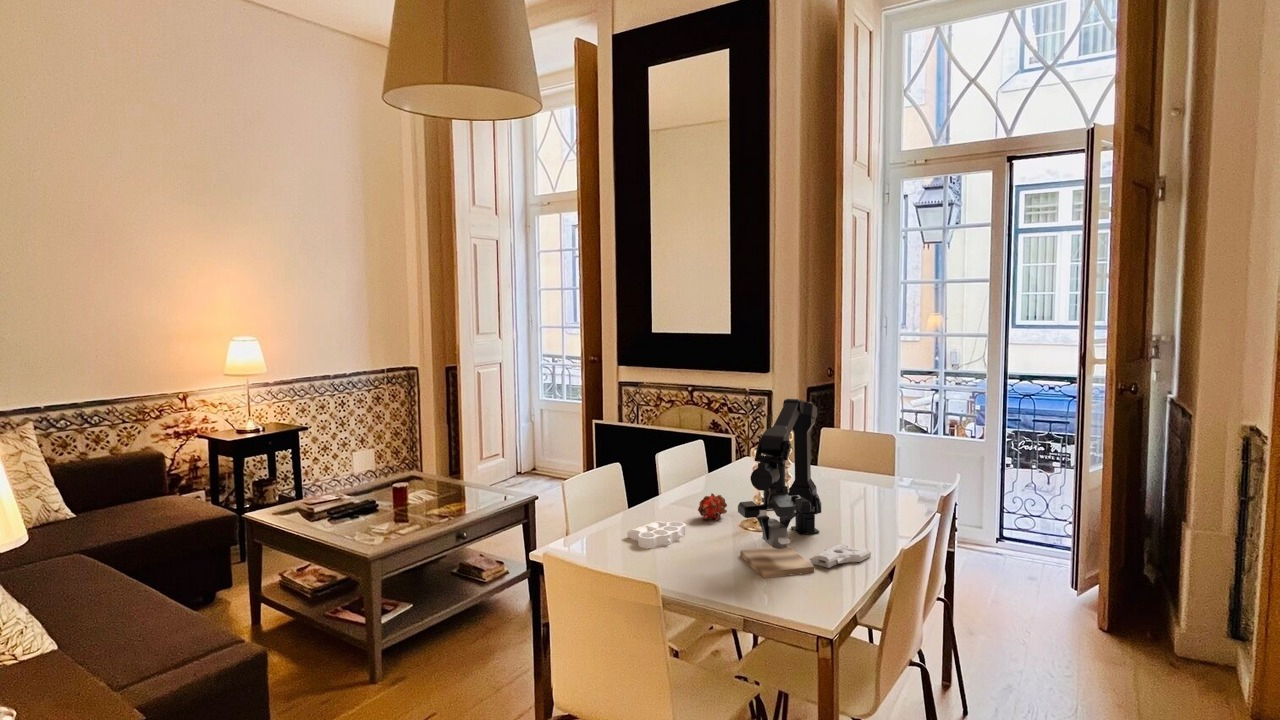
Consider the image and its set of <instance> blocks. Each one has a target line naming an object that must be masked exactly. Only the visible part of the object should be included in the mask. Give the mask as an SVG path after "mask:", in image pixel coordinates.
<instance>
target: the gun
mask: <svg viewBox="0 0 1280 720" xmlns="http://www.w3.org/2000/svg"><path fill="white" fill-rule="evenodd" d="M871 555H872V553H871V551H870V550H869V549H867V548H865V547H863V548H861V549H857V548H852V547H849V546H848V545H846V544H837V545H835V546H832V547H830V548H828V549H824V551H823V552H821V553H818V554H817V555H815V556H813V557H810V558H809V560H810V563H811V564H812V565H816V566H820V567H824V568H827V569H830V568H832V567H834V566H836V565H839V564H848V563H855V562H859V563H860V562H862V561H864V560H867V559H868V558H870V557H872V556H871Z"/></svg>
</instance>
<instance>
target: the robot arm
mask: <svg viewBox="0 0 1280 720" xmlns="http://www.w3.org/2000/svg"><path fill="white" fill-rule="evenodd" d="M817 417H818V407H817V405H815V404H814V403H813V402H811V401H804V400H803V399H802V400H801V399H800V398H787V399H784V400H783V403H782V408H781V410H780V412H779V414H778V416H777V417H776V420H775V422H774V424H773V426H772V427H770V428H767V429H765V430H764V432H763V433H762V434H761V436H760V438H758V443H757V447H756V452H755V455H754V462H758V463H757V468H755V469H754V470H752V472H751V475H750V483H751V484H752V486H753V487H754V488H755V489H757V490H758V491H762V492H763V497H761V502H762V504H757V503H755V502H754V501H752V500H748V501H739V503H738V505H737V513H738V514H740V515H741V516H742V517H743V518H745V519H751V518H755V519H757V522H758V524H759V526H760V528H761V531H762V535H763V534H764V536H765V538H766V540H768V538H769V530H768V520H769V518H770V517H769V516H768V514H767V513H768V512H774V513H775V516H776V517H779V522H780V523H782V524H783V525H784V526H786V527H787V529H788V527H789V525H790V523H791V521H792V520H793V519H794V518H795V525H794V526H790V529H792V531H794V532H795V533H797V534H798V535H812V534H819V533H820V530H819V529H817V528H816V523H815V522H816V520H815V519H816V515H818V514H821V513H822V502H821V499H820V496H819V494H818V490H817V489H818V488H817V485H816V484H815V482H814V481H813V480H812V477H811V476H812V471H811V469H812V467H811V466H812V465H811V430H812V428H813V426H814V425H815V424H816V421H817V420H816V419H817ZM792 432H793V442H794V443H793V445H794V446H793V447H794V448H793V452H794V458H793V459H794V481H793V482H792V483H791V485H790V487H788V486H787V485H786V462H787V461H788V460H789V456H790V452H791V449H792V444H791V440H790V436H791V433H792Z"/></svg>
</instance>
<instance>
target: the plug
mask: <svg viewBox="0 0 1280 720" xmlns="http://www.w3.org/2000/svg"><path fill="white" fill-rule="evenodd" d="M768 530H769V538H768V540H766V538H765V536H764V534H763V533H762V540H763V541H764V542H765V543H767V545H769V547H773V548H776V549H784V548H787V546H788V544H791V538H789V537H788V528H787V527H786V526H784V525H783V524H782V523H780V520H778V519H775V518H771V517H769V520H768Z"/></svg>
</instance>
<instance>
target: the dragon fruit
mask: <svg viewBox="0 0 1280 720" xmlns="http://www.w3.org/2000/svg"><path fill="white" fill-rule="evenodd" d="M727 507H728V504H727V503H726V499H725V497H723V496H722V494H717V495H715V494H714V493H710V495H705V496H704V497H703V498H702V499H701V500H700V502H699V507H698V508H697V512H698V513H699V514H700V516H701V517H703V518H702V520H703V521H704V520H705V521H709V520H708V519H710V520H711V519H715V520H716V519H717V520H716V521H718V520H719V519H720V518H721V517H722V516H721V515H722V514H723V515H725V514H726V513H727V512H728V509H726V508H727Z"/></svg>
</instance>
